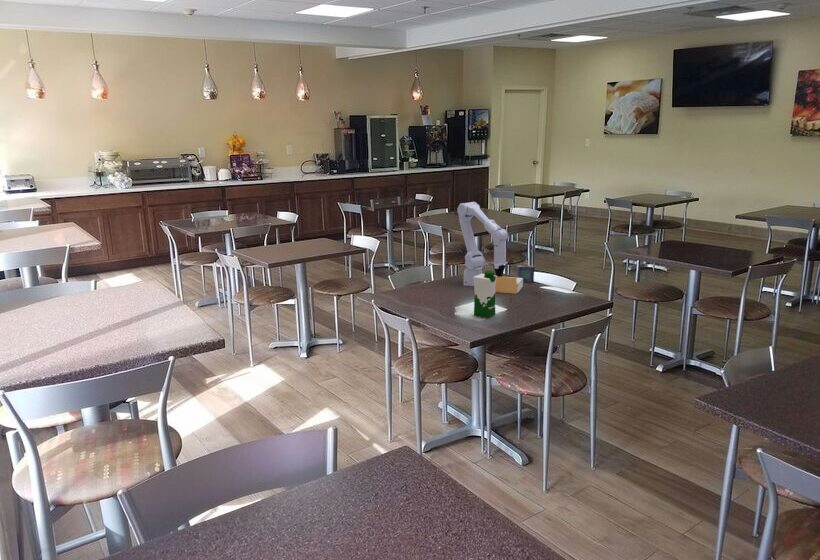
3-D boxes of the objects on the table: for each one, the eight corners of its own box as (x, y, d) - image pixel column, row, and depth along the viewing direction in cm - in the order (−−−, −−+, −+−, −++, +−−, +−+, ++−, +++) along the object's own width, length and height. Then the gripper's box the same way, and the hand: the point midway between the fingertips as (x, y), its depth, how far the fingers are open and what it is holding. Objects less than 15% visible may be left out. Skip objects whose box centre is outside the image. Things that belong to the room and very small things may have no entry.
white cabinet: (478, 291, 308) (478, 281, 307) (485, 284, 321) (485, 275, 319) (517, 294, 301) (517, 284, 300) (522, 287, 313) (523, 278, 312)
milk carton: (487, 319, 263) (488, 275, 258) (470, 315, 269) (470, 272, 264) (498, 314, 270) (499, 271, 265) (481, 310, 275) (481, 268, 270)
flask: (516, 282, 323) (516, 263, 321) (516, 281, 326) (517, 261, 324) (533, 283, 321) (534, 263, 319) (533, 281, 324) (534, 262, 321)
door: (478, 290, 307) (479, 275, 305) (479, 290, 307) (479, 275, 305) (515, 293, 300) (516, 278, 298) (516, 293, 301) (516, 277, 299)
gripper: (504, 256, 294) (503, 283, 297) (510, 251, 307) (510, 276, 310) (490, 255, 297) (489, 282, 300) (497, 250, 310) (496, 275, 313)
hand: (499, 279), depth 305 cm, fingers closed
